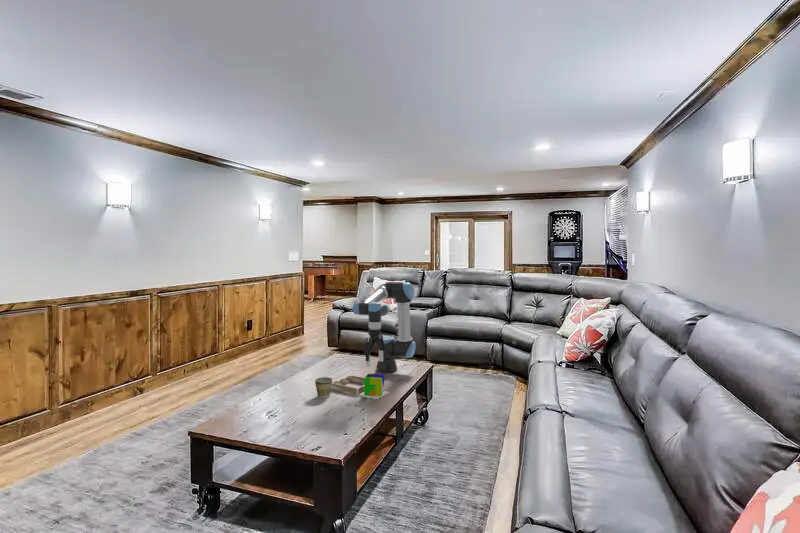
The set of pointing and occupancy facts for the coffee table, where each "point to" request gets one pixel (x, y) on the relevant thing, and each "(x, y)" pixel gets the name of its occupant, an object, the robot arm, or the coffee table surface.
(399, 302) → the robot arm
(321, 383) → the ceramic cup
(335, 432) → the coffee table surface
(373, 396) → the pad
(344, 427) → the coffee table surface
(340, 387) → the bin
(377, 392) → the puzzle toy
